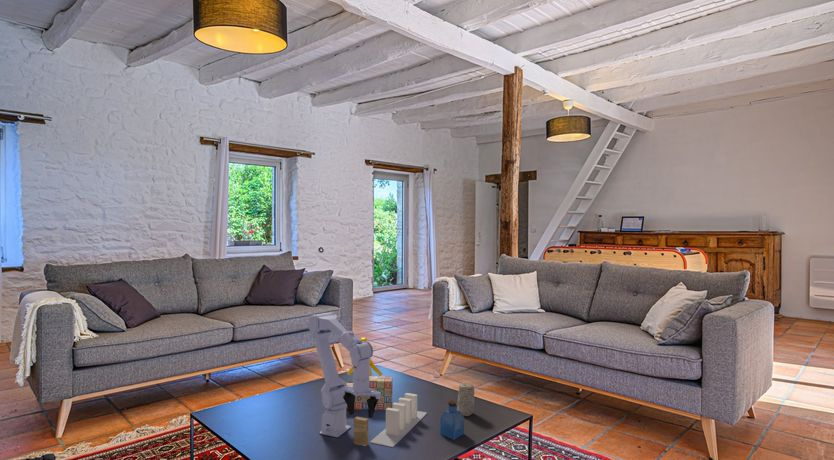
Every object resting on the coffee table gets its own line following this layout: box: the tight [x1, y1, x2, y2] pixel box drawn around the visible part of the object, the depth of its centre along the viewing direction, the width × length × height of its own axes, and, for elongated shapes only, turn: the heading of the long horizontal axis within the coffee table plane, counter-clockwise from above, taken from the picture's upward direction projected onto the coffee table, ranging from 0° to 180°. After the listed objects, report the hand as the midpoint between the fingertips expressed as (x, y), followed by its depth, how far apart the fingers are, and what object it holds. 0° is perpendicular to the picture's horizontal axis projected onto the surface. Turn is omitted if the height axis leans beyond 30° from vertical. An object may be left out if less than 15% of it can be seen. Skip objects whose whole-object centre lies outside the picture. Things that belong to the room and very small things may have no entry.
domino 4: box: [403, 392, 418, 419], centre depth 191 cm, size 2×5×9 cm, turn 67°
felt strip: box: [369, 410, 428, 448], centre depth 182 cm, size 32×9×1 cm, turn 157°
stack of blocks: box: [346, 375, 393, 411], centre depth 202 cm, size 21×6×12 cm, turn 89°
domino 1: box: [385, 408, 400, 436], centre depth 176 cm, size 2×5×9 cm, turn 67°
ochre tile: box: [353, 416, 369, 447], centre depth 169 cm, size 2×5×9 cm, turn 67°
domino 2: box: [392, 401, 406, 430], centre depth 181 cm, size 2×5×9 cm, turn 67°
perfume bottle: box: [439, 400, 465, 440], centre depth 176 cm, size 6×6×12 cm
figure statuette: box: [346, 337, 383, 376], centre depth 233 cm, size 18×8×22 cm, turn 85°
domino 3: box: [398, 397, 412, 424], centre depth 186 cm, size 2×5×9 cm, turn 67°
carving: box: [456, 382, 475, 417], centre depth 195 cm, size 6×8×12 cm
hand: (361, 415), depth 168 cm, fingers open, 7 cm apart
